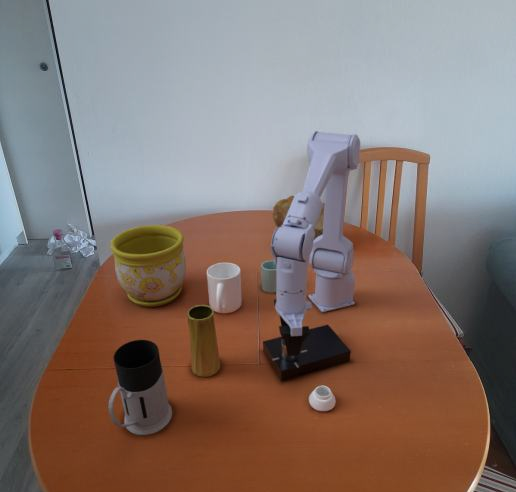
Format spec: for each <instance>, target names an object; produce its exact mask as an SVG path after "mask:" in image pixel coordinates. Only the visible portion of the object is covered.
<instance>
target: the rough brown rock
mask: <svg viewBox="0 0 516 492" xmlns="http://www.w3.org/2000/svg"><path fill="white" fill-rule="evenodd" d="M295 195H296V194H294V195H289V196H288V197H287V198H283V199H280V200H278V201H277V202H275V205H274V206H273V207H272V220H273V223H274V225H275V226H276V228H277V227H281V226H282V225H283V223H284V220H285V218H286V215H287V213H288V211H289V208H290V206H291V203H292V201H293V198H294V196H295ZM322 203H323V208H322V210H321V213H320V216H319V218H318V221H317V224H316V226H315V229H314V231H315V237H314V240H315V239H316V238H317V237H318V236H320V235H322V234H323V222H324V208H325V202H322Z"/></svg>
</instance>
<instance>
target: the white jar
mask: <svg viewBox="0 0 516 492" xmlns="http://www.w3.org/2000/svg"><path fill="white" fill-rule="evenodd" d="M336 400H337V399H336V396H335V395H334V394H333V392H332V390H331V389H330V387H328V386H326V385H317V387H315V389H313V391H312V392H310V394H309V396H308V404H309V405H310V406H311V408H313V410H315V411H319V412H329V411H330V410H331V411H332V409H333V408H335V406H336V403H337V402H336Z"/></svg>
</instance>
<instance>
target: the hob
mask: <svg viewBox="0 0 516 492" xmlns="http://www.w3.org/2000/svg"><path fill="white" fill-rule="evenodd" d="M309 330H310V333H309V335H308V336H307V337H306V339H305V340H304V342H303V344H302V347H301V350H300V353H299V357H298V358H297V359H296V360H294V361H287V360H284V359H283V358H282V356H281V342H282V340H283V338H282V336H278V337H274V338H271V339H267V340H263V341H262V352H263V354H264V356H265V357H266V359H267V361H268V362H269V364H270V366H271V367H272V369H273V371H274V372H275V374H276V377H278V379H279V381H280V382H286V381H289V380H292V379H296V378H298V377H302V376H303V377H304V376H305V375H309V374H313V373H316V372H320V371H323V370H327V369H329V368H333V367H336V366H339V365H343V364H347V363H350V362H351V353H352V350H351V349H350V348H349V346H347V345H346V343H345V342H344V341H343V340H342V338H340V337H339V335H338V334H337V333H336V332H335V331H334V329H333V328H331V326H330V325H329V324H324V325H320V326H316V327H314V328H313V327H312V328H309Z"/></svg>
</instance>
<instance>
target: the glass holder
mask: <svg viewBox="0 0 516 492" xmlns="http://www.w3.org/2000/svg"><path fill="white" fill-rule="evenodd" d="M159 350H160V349H159V347H158V345H157V344H156V343H155V342H154V341H152V340H147V339H134V340H131V341H128V342H125V343H124V344H122V345H120V346H119V347H118V348H117V349H116V350H115V352H114V354H113V364H114V368H115V372H116V375H117V387H115V388H114V390H113V391H112V393H111V395H110V397H109V400H108V412H109V416H110V420H111V421H112V423H113V424H114V425H115V426H117V427H119V428H121V429H122V428H126V429H127V431H129V433H131V434H133V435H138V436H148V435H153V434H155V433H158V432H159V431H161V430H163V429H164V428H165V427H166V426H168V425H169V423H170V422H171V420H172V417H173V410H172V406H171V405H170V403H169V398H168V394H167V393H168V392H167V386H166V380H165V373H164V368H163V365H162V362H161V356H160V351H159ZM118 393H119V394H120V398H121V401H122V402H121V403H122V407H123V411H124V418H123V422H124V423H123V424H122V423H120V422H119V421H118V420H117V418H116V414H115V411H114V402H115V398H116V397H117V394H118Z"/></svg>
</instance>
